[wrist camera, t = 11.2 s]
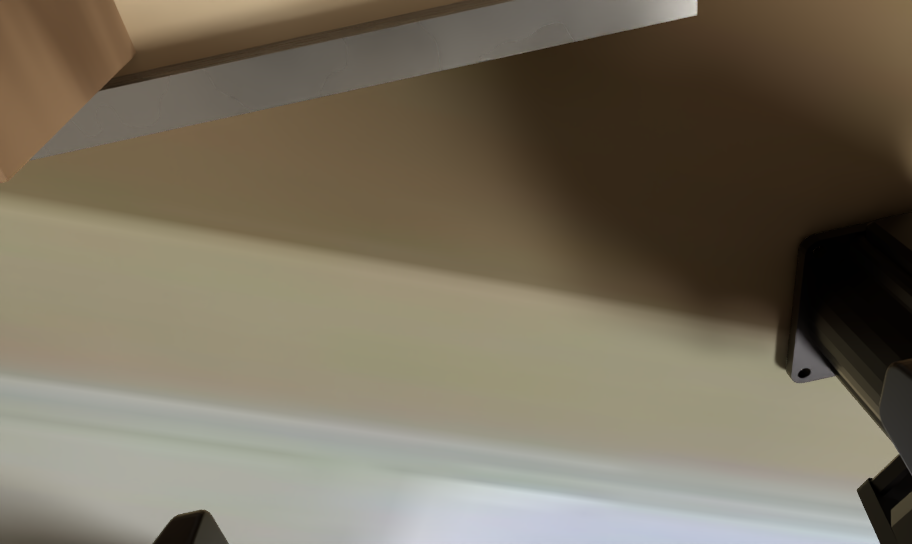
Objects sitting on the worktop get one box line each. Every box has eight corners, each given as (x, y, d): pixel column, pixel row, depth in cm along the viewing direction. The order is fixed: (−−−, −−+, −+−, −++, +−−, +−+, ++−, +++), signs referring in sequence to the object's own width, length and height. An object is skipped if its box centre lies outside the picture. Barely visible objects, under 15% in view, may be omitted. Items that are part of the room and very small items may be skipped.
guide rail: (681, 6, 17) (697, 15, 16) (-190, 195, 17) (-218, 214, 16) (680, -47, 16) (697, -40, 16) (-224, 151, 17) (-256, 168, 16)
